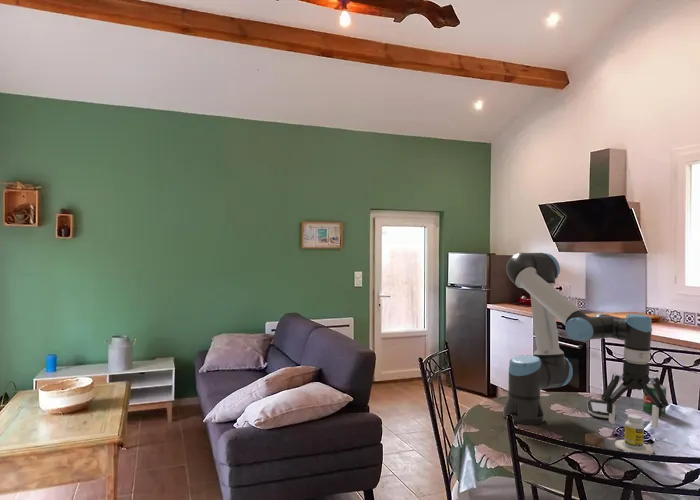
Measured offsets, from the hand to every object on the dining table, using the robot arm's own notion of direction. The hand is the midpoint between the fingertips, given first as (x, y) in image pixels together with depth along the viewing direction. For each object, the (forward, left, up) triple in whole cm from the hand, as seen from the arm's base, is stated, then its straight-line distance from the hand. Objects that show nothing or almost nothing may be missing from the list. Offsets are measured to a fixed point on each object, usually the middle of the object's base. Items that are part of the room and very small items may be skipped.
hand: (632, 424), depth 164 cm
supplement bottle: (0, 0, -7) cm, 7 cm away
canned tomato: (+25, +39, -8) cm, 47 cm away
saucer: (0, 0, -8) cm, 8 cm away
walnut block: (-13, -1, -8) cm, 15 cm away
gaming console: (+4, +37, -9) cm, 38 cm away
